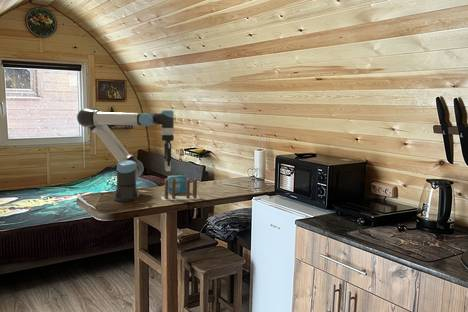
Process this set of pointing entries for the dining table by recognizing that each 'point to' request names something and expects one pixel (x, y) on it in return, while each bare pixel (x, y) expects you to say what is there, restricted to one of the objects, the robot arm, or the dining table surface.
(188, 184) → the domino
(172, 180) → the domino
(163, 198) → the board
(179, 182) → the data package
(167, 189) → the domino
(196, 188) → the domino
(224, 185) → the dining table surface
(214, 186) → the dining table surface
